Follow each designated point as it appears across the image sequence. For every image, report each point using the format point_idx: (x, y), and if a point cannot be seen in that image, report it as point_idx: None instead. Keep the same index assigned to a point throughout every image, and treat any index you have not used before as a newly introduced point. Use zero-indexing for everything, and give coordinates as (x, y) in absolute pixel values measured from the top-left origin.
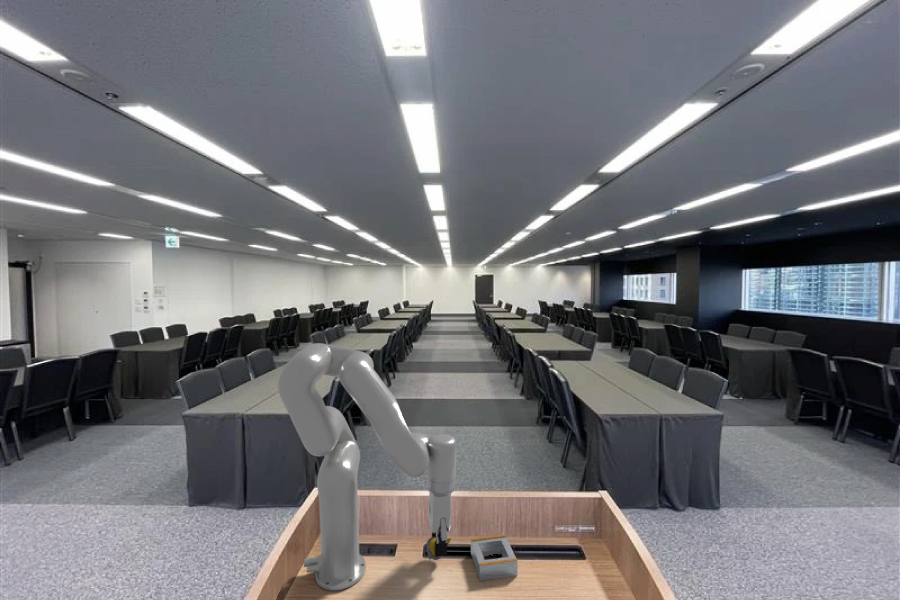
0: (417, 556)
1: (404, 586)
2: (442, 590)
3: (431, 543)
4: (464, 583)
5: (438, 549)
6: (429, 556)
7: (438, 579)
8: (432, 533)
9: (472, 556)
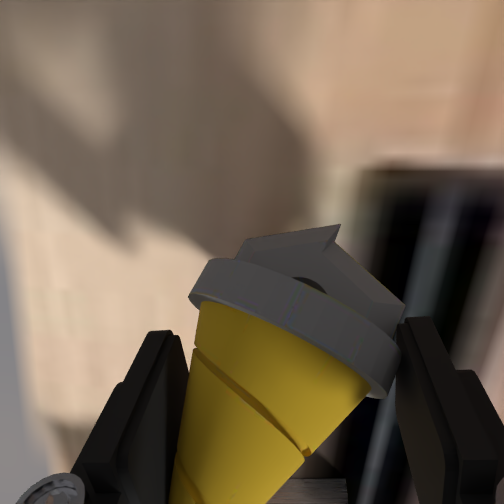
0: (381, 113)
1: (18, 3)
2: (30, 295)
3: (250, 344)
4: (101, 412)
5: (97, 423)
6: (252, 251)
7: (119, 277)
8: (430, 378)
9: (299, 491)
